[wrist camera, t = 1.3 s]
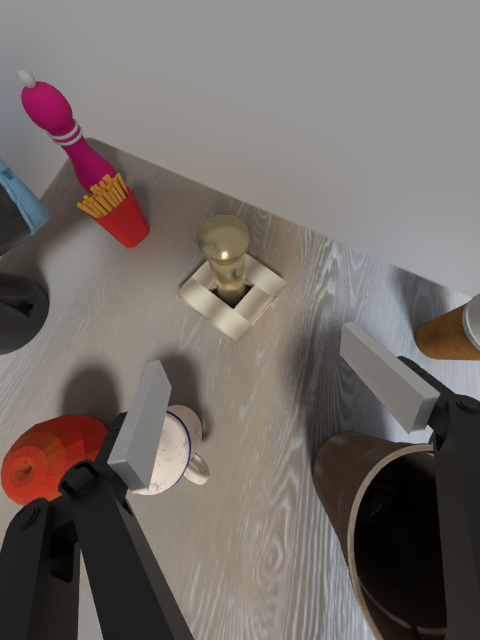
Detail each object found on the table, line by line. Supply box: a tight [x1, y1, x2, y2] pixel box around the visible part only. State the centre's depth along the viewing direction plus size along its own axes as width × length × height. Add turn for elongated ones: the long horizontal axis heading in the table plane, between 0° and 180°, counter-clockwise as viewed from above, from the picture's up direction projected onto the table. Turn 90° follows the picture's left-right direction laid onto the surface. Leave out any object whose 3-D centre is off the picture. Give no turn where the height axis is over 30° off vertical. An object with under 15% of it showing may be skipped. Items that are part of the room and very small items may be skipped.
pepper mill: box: [18, 69, 117, 195], centre depth 38 cm, size 7×7×20 cm
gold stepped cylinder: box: [197, 214, 249, 305], centre depth 32 cm, size 6×6×16 cm
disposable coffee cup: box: [415, 294, 480, 360], centre depth 31 cm, size 10×10×12 cm
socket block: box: [176, 254, 286, 344], centre depth 39 cm, size 14×14×2 cm
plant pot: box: [313, 432, 447, 640], centre depth 24 cm, size 16×16×16 cm
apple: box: [1, 414, 107, 506], centre depth 28 cm, size 10×10×12 cm
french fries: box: [77, 173, 149, 248], centre depth 39 cm, size 8×4×12 cm, turn 141°
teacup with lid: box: [137, 405, 209, 495], centre depth 28 cm, size 12×9×12 cm
